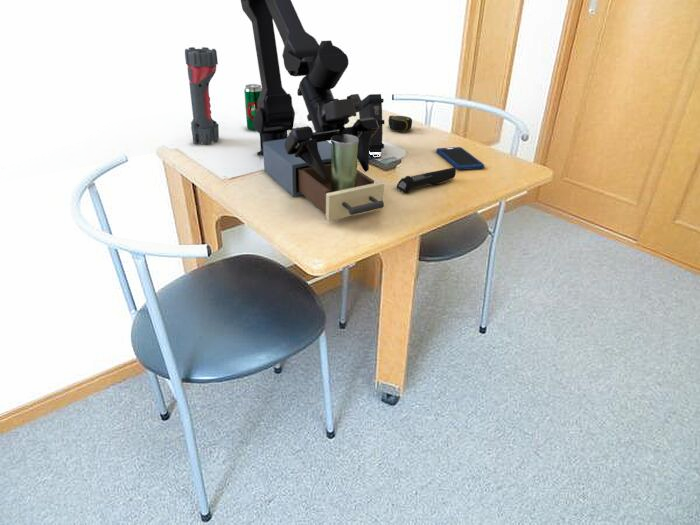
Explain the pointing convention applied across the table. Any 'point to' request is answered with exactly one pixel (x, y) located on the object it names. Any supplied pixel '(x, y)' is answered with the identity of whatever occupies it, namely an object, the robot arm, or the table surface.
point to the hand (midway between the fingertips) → (347, 174)
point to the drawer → (340, 194)
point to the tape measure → (400, 123)
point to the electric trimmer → (425, 179)
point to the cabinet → (289, 163)
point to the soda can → (251, 103)
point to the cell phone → (460, 158)
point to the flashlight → (201, 93)
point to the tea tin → (343, 161)
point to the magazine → (374, 110)
